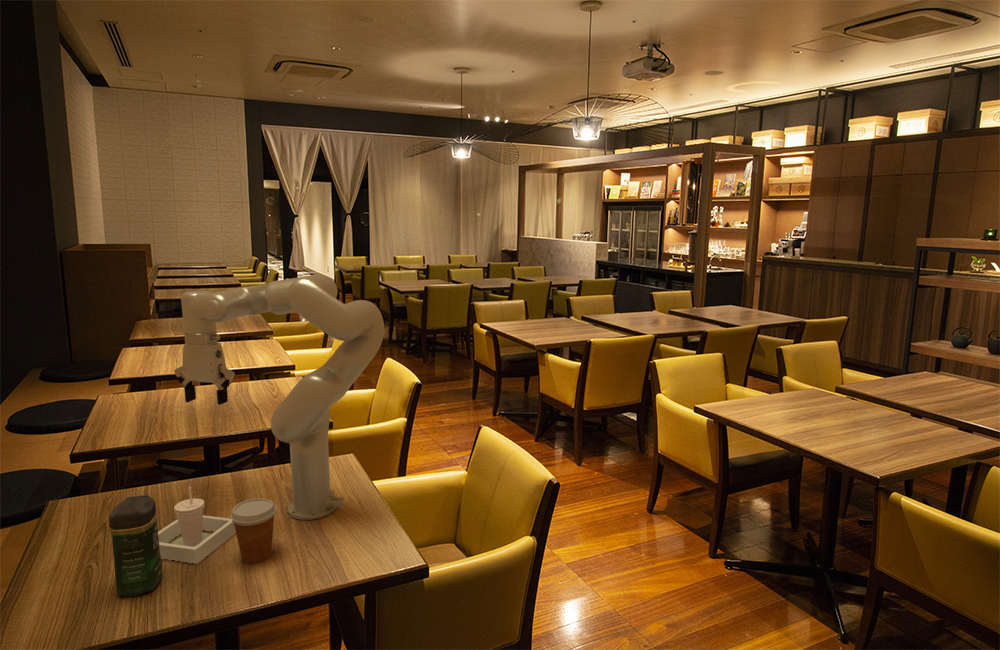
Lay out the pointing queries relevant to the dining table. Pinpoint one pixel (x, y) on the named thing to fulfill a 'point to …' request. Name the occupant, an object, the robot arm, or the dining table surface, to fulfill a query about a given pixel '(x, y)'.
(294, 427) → the robot arm
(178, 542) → the pale green round spot
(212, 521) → the white square frame
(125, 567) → the coffee jar
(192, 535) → the smoothie
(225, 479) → the dining table surface
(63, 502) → the dining table surface
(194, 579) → the dining table surface
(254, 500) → the disposable coffee cup
